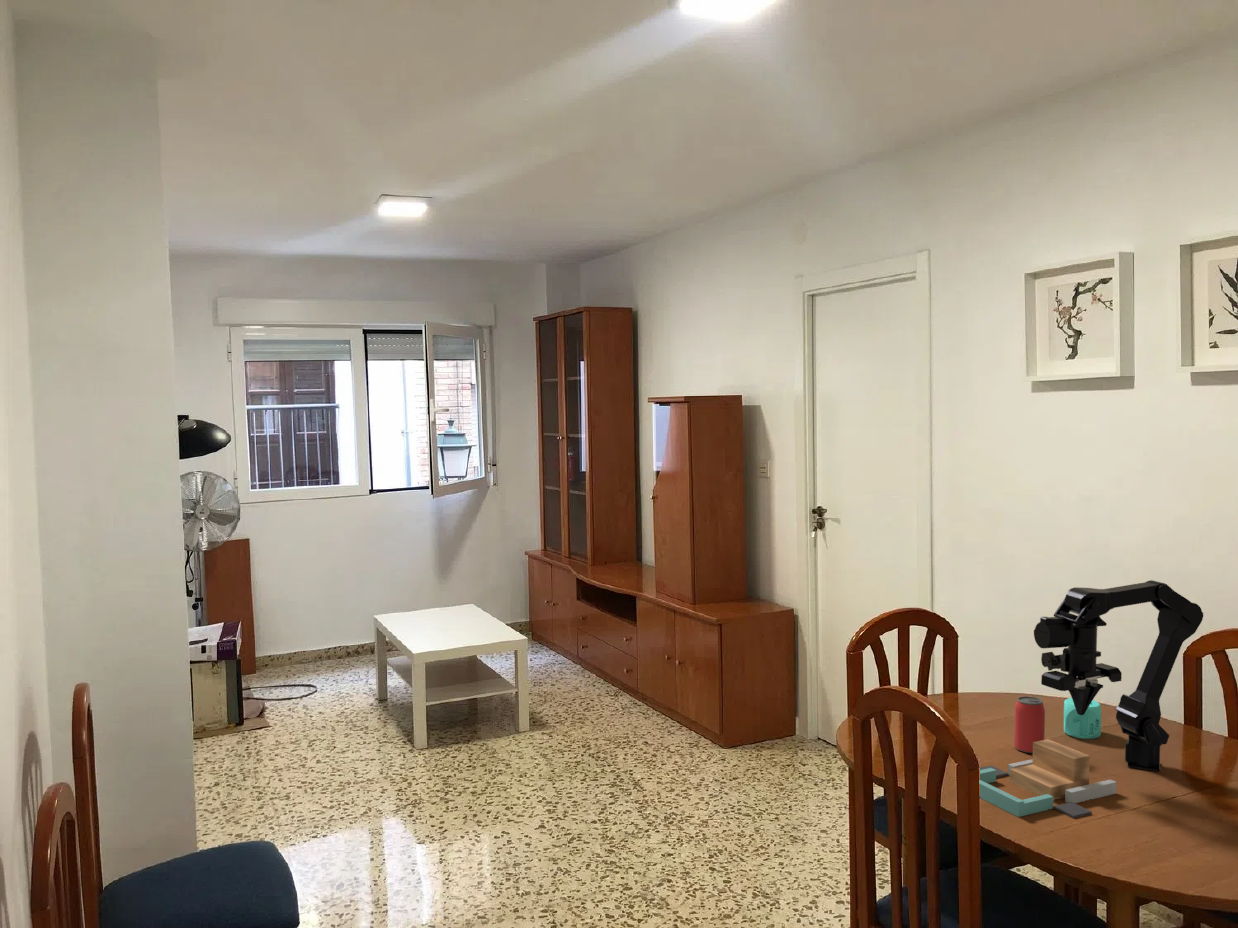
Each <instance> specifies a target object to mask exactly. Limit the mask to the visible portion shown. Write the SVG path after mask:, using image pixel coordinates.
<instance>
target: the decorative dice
mask: <svg viewBox="0 0 1238 928" xmlns="http://www.w3.org/2000/svg"><path fill="white" fill-rule="evenodd" d="M1063 732H1064V733H1065V734H1066V735H1068V736H1070V737H1073V738H1076V739H1081V740H1082V739H1083V740H1093V739H1094V740H1095V739H1097V738H1099V737H1100V736H1101V733H1102V707H1101V703H1099V702H1098V701H1097V700H1094V699H1093V700H1092V702H1091V704H1090V705H1089V707H1088V709H1087V710H1086V712H1085V714H1084V715H1079V714H1077V711H1076V708H1075V705H1074V702H1073V699H1072V697H1069V698H1066V699H1065V700H1064V702H1063Z"/></svg>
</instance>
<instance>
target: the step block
mask: <svg viewBox="0 0 1238 928" xmlns="http://www.w3.org/2000/svg"><path fill="white" fill-rule="evenodd" d="M1090 756H1091V755H1089V754H1086V753H1084V752H1081V751H1078V750H1076V749H1073V748H1071V747H1069V746H1066V745H1064V744H1061V743H1058V742H1056V741H1054V740H1051V739H1049V738H1047V739H1044V740H1041V741H1036V742H1033V753H1032V759H1033V761H1032V765H1027V766H1022V767H1018V768H1013V769H1010V776H1009V783H1011V784H1013V785H1015V786H1017V785H1018V786H1017V787H1019V786H1020V787H1019V788H1021V789H1023V788H1024V790H1025V791H1028V790H1029V791H1028V792H1030V791H1031V792H1030V793H1032V792H1033V793H1032V794H1034V795H1036V794H1038V795H1040V796H1041V795H1045V794H1049V795H1051V796H1053V801H1056V800H1055V799H1058V800H1062V799H1065V790H1067V789H1071V788H1076V787H1080V786H1084V785H1089V784H1090V759H1091V758H1090ZM1038 795H1037V796H1038Z"/></svg>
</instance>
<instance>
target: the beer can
mask: <svg viewBox="0 0 1238 928" xmlns="http://www.w3.org/2000/svg"><path fill="white" fill-rule="evenodd" d="M1043 702H1044V701H1043V700H1042V699H1041V698H1038V697H1034V696H1028V695H1027V696H1019V697H1018V698H1017V701H1016V703H1015V706H1014V738H1013V739H1014V741H1013V745H1014V747H1015V749H1016V750H1018V751H1019V752H1023V753H1027V754H1033V742H1036V741H1041V740H1045V728H1046V727H1045V725H1046V723H1045V722H1046V719H1045V718H1046V711H1045V709H1046V708H1045V706H1044V704H1043Z"/></svg>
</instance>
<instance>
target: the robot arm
mask: <svg viewBox="0 0 1238 928" xmlns="http://www.w3.org/2000/svg"><path fill="white" fill-rule="evenodd" d="M1146 603H1151V605H1152V606H1153V607H1154V608H1155V609H1156V610H1157V611H1158V614H1157V619H1156V620H1157V627H1158V635H1157V637H1156V640H1155V643H1154V645H1153V647H1152V650H1151V652H1150V655H1149V657H1148V659H1147V663H1146V665H1145V667H1144V669H1143V672H1142V674H1141V676H1140V679H1139V681H1138V683H1137V686H1136V689H1135V690H1134V691H1133V692H1132V693H1131V694H1130V695H1127V694H1125V693H1124V694H1122V695H1121V696H1120V699H1119V702H1118V705H1117V707H1116V708H1115V711H1116V715H1115V719H1116V721H1117V723H1118V725H1119V726H1120V729H1121V731H1122V734H1124V735H1128V737H1127V738H1128V740H1125V743H1124V744H1125V745H1124V747H1125V749H1124V762H1125V763H1127V767H1128V768H1131V769H1132V768H1133V769H1139V770H1146V771H1151V772H1161V762H1160V761H1161V747H1162V745H1167V744H1168V740H1169V738H1170V735H1169V733H1168V732H1167V731H1166V730H1165V729H1164V728H1163V727H1162V726H1161V725H1160V721H1161V717H1162V712H1161V704H1160V699H1161V696H1162V693H1163V692H1164V689H1165V687H1166V684H1167V683H1168V682H1167V681H1168V680H1169V677H1170V674H1171V672H1172V670H1173V667H1174V665H1175V662H1176V661H1177V658H1178V655H1179V654H1180V653H1179V652H1180V651H1181V648H1182V646H1183V643H1184V642H1185V641H1186V640H1187V639H1189V638H1190V637H1192V636H1193V635H1194V634H1195V633H1196V632H1197V630H1198V629H1199V627H1200V625H1201V624H1202V621H1203V620H1204V619H1203V618H1204V612H1203V611H1202V608H1201V606H1200V605H1199V604H1197V603H1195V602H1191V601H1190V600H1189V599H1188V598H1186V597H1184V596H1183V595H1182V594H1180V593H1178V592H1176V591H1175V590H1174V589H1173V588H1172V587H1171V586H1169V584H1166V583H1164V582H1161V581H1157V580H1151V579H1150V580H1147V581H1145V582H1140V583H1133V584H1126V585H1121V586H1120V585H1119V586H1115V587H1108V588H1093V587H1092V588H1091V587H1079V586H1076V587H1071V588H1069V589H1068V590H1067V592H1066V595H1065V597H1064V599H1063V600H1062V602H1061V603H1060V605H1059V606H1058V607H1057V608H1056V609H1055V610H1056V611H1055V612H1054V613H1053V616H1051V617H1050V616H1041V617H1040V618H1039V622H1038V623H1037V624H1036V625H1035V627H1034V630H1033V637H1034V641H1035V643H1036V645H1037V646H1038V647H1039V648H1041V649H1057V648H1063V650H1062V654H1061V653H1060V654H1055V653H1054V652H1053V651H1049V652H1048V651H1047V652H1042V653H1041V658H1040V659H1041V665H1042V666H1043V667H1044V668H1047V669H1048V671H1045V672H1044V673H1043V674H1041V677H1040V678H1041V679H1040V682H1041V685H1043V686H1046V687H1047V688H1051V689H1054V690H1057V691H1060V692H1066V691H1068V692H1069V694H1070V698H1072V699H1073V702H1074V705H1075V708H1076V711H1077V714H1079V715H1084V714H1085V712H1086V710H1087V709H1088V707H1089V705H1090V704H1091V702H1092V700H1094V698H1095V697H1096V696H1097V694H1098V693H1099V692H1100V690H1101V689H1103V688H1104V684H1101V683H1099V680H1098V679H1102V678H1108V680H1109V681H1110V683H1117V682H1121V681H1122V675H1123V674H1122V671H1121V670H1120V668H1119V667H1117V666H1113V665H1110V664H1106V663H1102V662H1100V663H1097V658H1099V657H1102V651H1098V650H1097V647H1098V640H1097V639H1098V627H1105V626H1107V625H1108V624H1107V621H1104V619H1102V617H1101V616H1103V615H1106V614H1107V613H1109V612H1110V611H1111V610H1113V609H1115V608H1122V607H1127V606H1132V605H1134V606H1135V605H1139V604H1146ZM1059 670H1060V671H1059Z"/></svg>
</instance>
